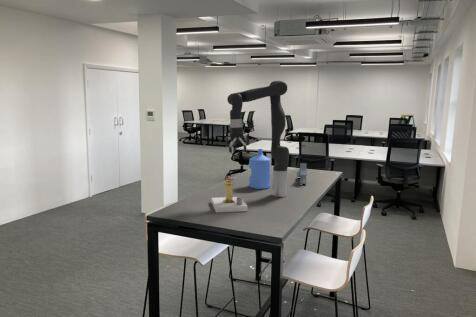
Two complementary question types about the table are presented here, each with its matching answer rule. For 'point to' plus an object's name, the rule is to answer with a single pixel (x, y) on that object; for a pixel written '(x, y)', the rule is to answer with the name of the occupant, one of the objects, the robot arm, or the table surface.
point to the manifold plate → (229, 205)
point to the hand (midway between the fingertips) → (237, 152)
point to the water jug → (259, 171)
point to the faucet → (302, 173)
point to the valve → (229, 190)
